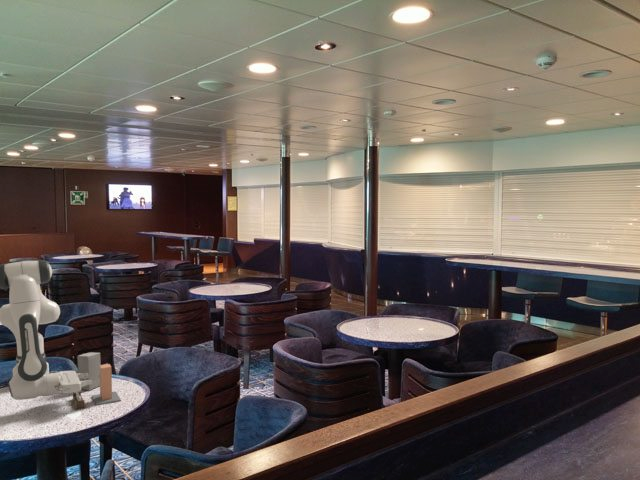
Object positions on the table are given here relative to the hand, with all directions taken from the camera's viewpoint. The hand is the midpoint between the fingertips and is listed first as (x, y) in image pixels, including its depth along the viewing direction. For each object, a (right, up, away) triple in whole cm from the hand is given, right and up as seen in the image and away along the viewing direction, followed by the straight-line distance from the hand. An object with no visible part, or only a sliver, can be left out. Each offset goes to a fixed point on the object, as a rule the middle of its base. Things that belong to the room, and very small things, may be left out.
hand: (90, 378), depth 223 cm
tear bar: (-4, -10, -2) cm, 11 cm away
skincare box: (-8, -9, +19) cm, 23 cm away
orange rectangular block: (+5, -9, +4) cm, 11 cm away
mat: (+5, -10, +4) cm, 12 cm away
